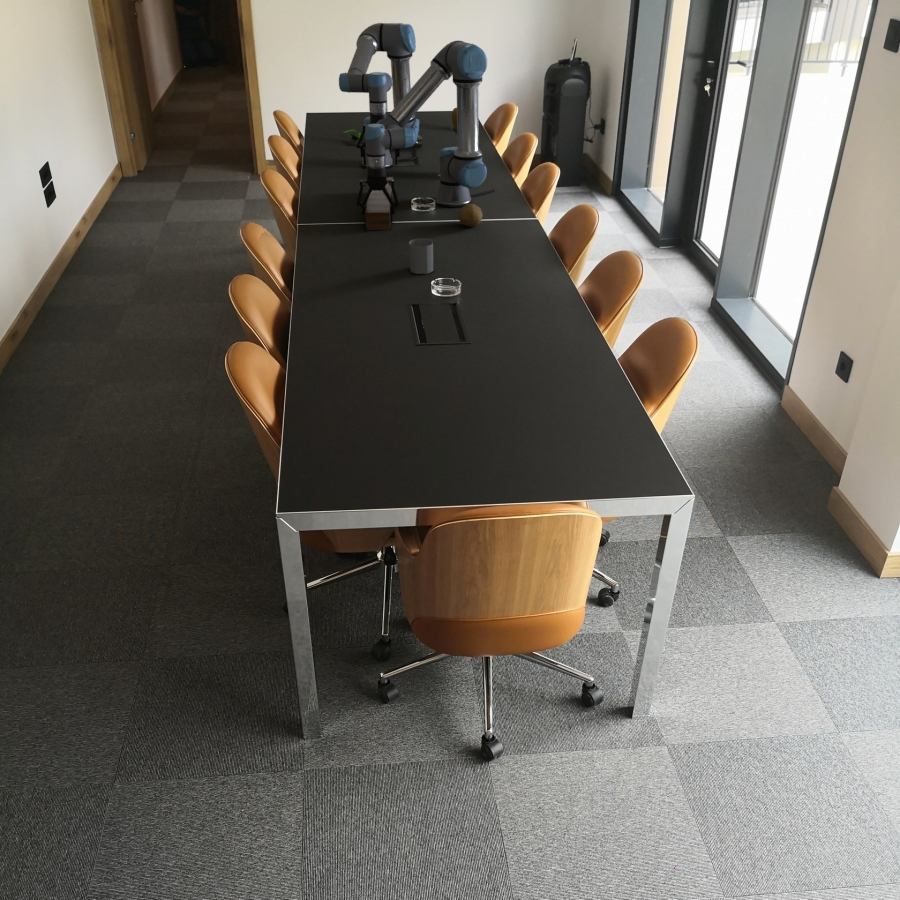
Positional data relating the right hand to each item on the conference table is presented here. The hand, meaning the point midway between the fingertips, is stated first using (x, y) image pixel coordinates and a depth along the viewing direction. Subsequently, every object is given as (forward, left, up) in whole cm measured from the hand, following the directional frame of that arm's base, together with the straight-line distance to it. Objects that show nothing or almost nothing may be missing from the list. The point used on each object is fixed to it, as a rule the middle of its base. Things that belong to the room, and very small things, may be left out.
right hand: (378, 222), depth 352 cm
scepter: (-84, -109, -1) cm, 137 cm away
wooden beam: (-12, -13, -1) cm, 18 cm away
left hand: (-24, -26, +14) cm, 38 cm away
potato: (-25, +28, -1) cm, 37 cm away
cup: (+22, +51, -1) cm, 55 cm away
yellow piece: (-139, -95, -1) cm, 169 cm away
